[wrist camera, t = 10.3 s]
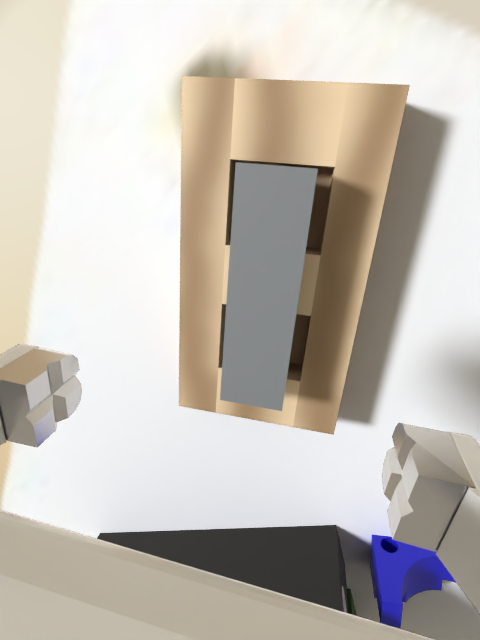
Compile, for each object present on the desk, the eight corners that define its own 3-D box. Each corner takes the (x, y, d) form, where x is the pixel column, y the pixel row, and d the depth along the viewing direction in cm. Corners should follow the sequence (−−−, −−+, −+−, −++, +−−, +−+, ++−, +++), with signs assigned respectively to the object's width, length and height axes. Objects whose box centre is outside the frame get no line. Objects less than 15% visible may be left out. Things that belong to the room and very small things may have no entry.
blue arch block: (370, 565, 35) (379, 636, 30) (371, 533, 34) (382, 601, 28) (506, 582, 33) (545, 663, 27) (515, 548, 31) (558, 626, 26)
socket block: (395, 99, 21) (409, 85, 18) (331, 406, 29) (333, 434, 26) (200, 90, 23) (182, 76, 20) (192, 382, 31) (178, 405, 28)
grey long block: (317, 171, 22) (317, 168, 17) (288, 365, 28) (282, 411, 22) (254, 166, 23) (235, 162, 17) (238, 357, 28) (219, 399, 23)
